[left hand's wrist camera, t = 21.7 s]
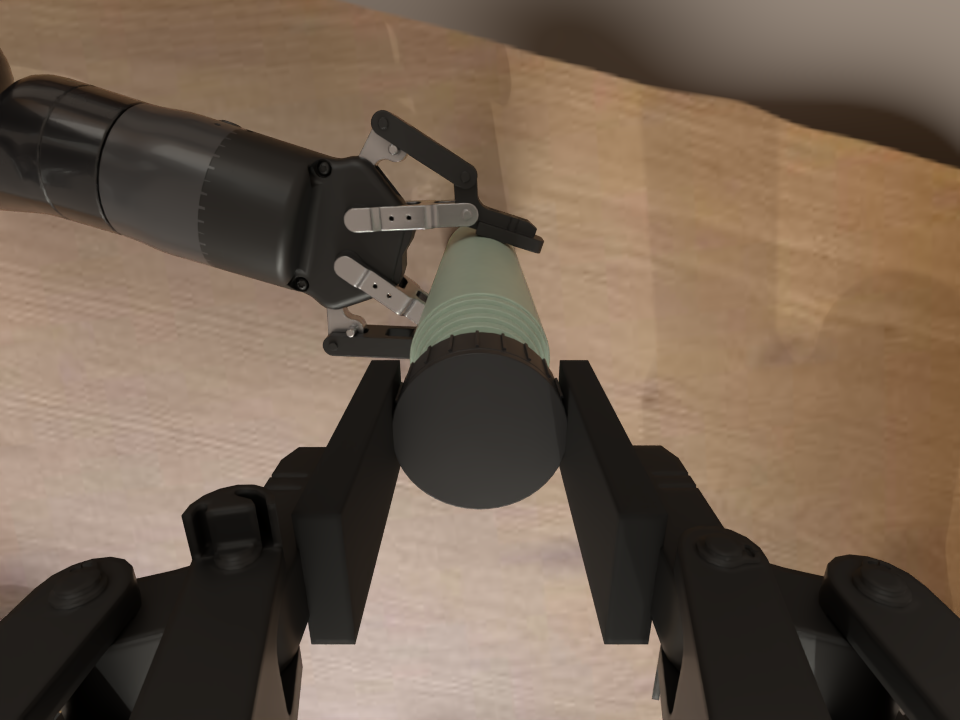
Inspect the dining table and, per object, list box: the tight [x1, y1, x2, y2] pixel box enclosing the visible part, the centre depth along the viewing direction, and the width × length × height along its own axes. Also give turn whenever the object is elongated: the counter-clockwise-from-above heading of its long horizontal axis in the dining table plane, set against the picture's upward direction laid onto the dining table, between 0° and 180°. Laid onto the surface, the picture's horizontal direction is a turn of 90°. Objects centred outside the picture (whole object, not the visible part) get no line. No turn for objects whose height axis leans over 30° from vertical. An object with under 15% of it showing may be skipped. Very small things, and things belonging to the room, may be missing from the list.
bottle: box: [410, 227, 550, 367], centre depth 25 cm, size 5×5×24 cm
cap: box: [392, 330, 567, 509], centre depth 14 cm, size 4×4×2 cm
